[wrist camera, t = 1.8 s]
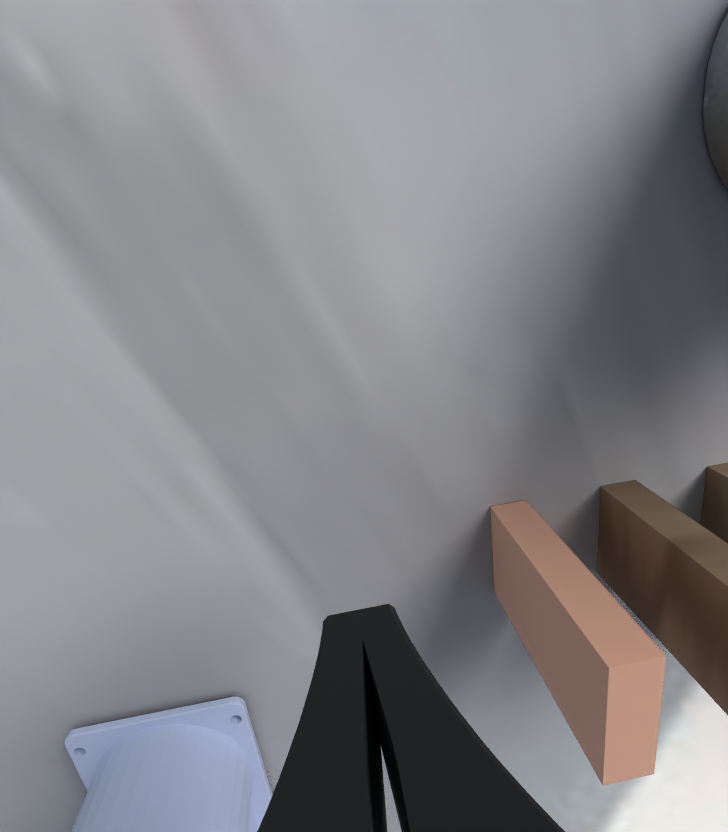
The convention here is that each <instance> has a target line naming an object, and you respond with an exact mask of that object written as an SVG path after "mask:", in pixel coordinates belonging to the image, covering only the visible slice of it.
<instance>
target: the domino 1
mask: <svg viewBox="0 0 728 832" xmlns="http://www.w3.org/2000/svg"><path fill="white" fill-rule="evenodd" d="M490 511H491V531H492V551H493V571H494V591H495V594H496V596H497V598H498V600H499V601H500V603H501V605H502V607H503V609H504V610H505V612H506V614H507V616H508V618H509V619H510V621H511V623H512V625H513V626H514V628H515V630H516V632H517V634H518V635H519V637H520V639H521V641H522V642H523V644H524V646H525V648H526V650H527V651H528V653H529V655H530V657H531V658H532V660H533V662H534V664H535V666H536V667H537V669H538V671H539V673H540V675H541V676H542V678H543V680H544V682H545V683H546V685H547V687H548V689H549V691H550V692H551V694H552V696H553V698H554V699H555V701H556V703H557V705H558V707H559V708H560V710H561V712H562V714H563V715H564V717H565V719H566V721H567V723H568V724H569V726H570V728H571V730H572V732H573V733H574V735H575V737H576V739H577V740H578V742H579V744H580V746H581V748H582V749H583V751H584V753H585V755H586V756H587V758H588V760H589V762H590V764H591V765H592V767H593V769H594V771H595V772H596V774H597V776H598V778H599V780H600V781H601V783H602V785H608V784H612V783H617V782H621V781H625V780H630V779H634V778H638V777H643V776H647V775H652V774H654V768H655V759H656V750H657V740H658V731H659V721H660V712H661V702H662V693H663V684H664V674H665V665H666V655H665V654H664V653H663V652H662V651H661V649H660V648H659V647H658V646H657V645H656V644H655V643H654V642H653V641H652V639H651V638H650V637H649V636H648V635H647V634H646V633H645V632H644V631H643V629H642V628H641V627H640V626H639V625H638V624H637V623H636V622H635V621H634V619H633V618H632V617H631V616H630V615H629V614H628V613H627V612H626V611H625V609H624V608H623V607H622V606H621V605H620V604H619V603H618V602H617V601H616V599H615V598H614V597H613V596H612V595H611V594H610V593H609V592H608V591H607V589H606V588H605V587H604V586H603V585H602V584H601V583H600V582H599V581H598V579H597V578H596V577H595V576H594V575H593V574H592V573H591V572H590V571H589V569H588V568H587V567H586V566H585V565H584V564H583V563H582V562H581V561H580V559H579V558H578V557H577V556H576V555H575V554H574V553H573V552H572V551H571V549H570V548H569V547H568V546H567V545H566V544H565V543H564V542H563V541H562V539H561V538H560V537H559V536H558V535H557V534H556V533H555V532H554V531H553V529H552V528H551V527H550V526H549V525H548V524H547V523H546V522H545V521H544V519H543V518H542V517H541V516H540V515H539V514H538V513H537V512H536V511H535V509H534V508H533V507H532V506H531V505H530V504H529V503H528V502H527V501H526V500H523V501H518V502H512V503H507V504H501V505H496V506H490Z"/></svg>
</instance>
